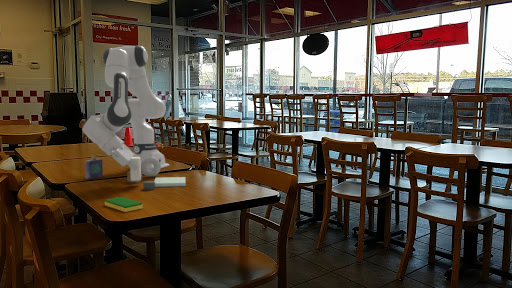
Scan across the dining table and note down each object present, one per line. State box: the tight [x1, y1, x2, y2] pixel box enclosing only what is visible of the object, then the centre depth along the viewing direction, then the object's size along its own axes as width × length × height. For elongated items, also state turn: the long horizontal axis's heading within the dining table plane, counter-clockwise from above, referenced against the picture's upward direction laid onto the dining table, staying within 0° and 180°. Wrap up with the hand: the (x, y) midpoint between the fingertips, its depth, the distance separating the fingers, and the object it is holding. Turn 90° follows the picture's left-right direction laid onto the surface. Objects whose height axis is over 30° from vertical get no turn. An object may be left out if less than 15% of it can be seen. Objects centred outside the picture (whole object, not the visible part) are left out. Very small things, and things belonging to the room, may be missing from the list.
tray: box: [154, 176, 186, 188], centre depth 191 cm, size 14×14×2 cm
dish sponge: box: [104, 196, 143, 213], centre depth 149 cm, size 7×14×2 cm, turn 49°
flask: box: [84, 155, 104, 180], centre depth 202 cm, size 9×3×11 cm, turn 146°
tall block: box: [129, 157, 141, 182], centre depth 185 cm, size 4×4×10 cm
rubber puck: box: [142, 180, 156, 191], centre depth 179 cm, size 5×5×3 cm
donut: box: [141, 157, 162, 178], centre depth 207 cm, size 10×3×10 cm, turn 114°
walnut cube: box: [126, 170, 143, 184], centre depth 195 cm, size 5×5×5 cm
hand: (137, 167), depth 185 cm, fingers closed on tall block, 4 cm apart
